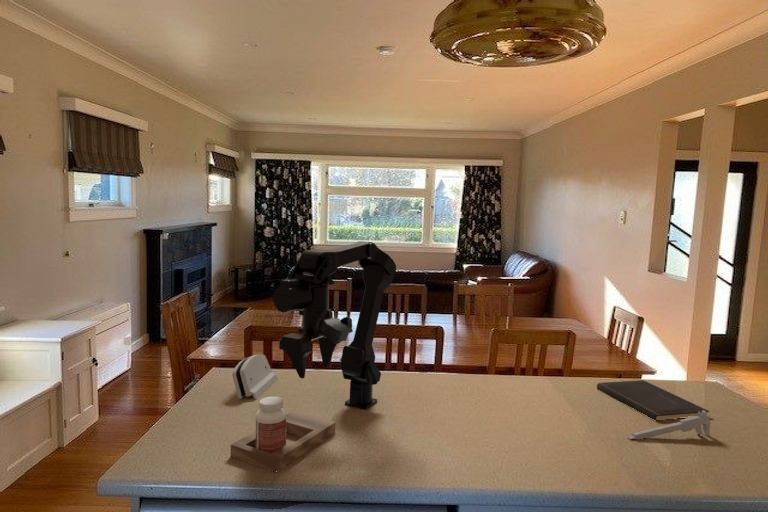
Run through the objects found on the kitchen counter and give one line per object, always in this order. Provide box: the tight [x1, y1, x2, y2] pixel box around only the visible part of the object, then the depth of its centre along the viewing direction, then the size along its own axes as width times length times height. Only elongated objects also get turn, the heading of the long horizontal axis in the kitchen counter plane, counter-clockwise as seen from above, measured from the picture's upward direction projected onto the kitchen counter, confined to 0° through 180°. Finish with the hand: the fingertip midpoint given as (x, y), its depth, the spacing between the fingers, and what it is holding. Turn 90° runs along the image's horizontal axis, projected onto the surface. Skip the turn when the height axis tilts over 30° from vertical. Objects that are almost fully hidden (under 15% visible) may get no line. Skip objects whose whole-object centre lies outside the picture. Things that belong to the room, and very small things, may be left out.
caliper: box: [627, 410, 711, 440], centre depth 114 cm, size 20×1×6 cm, turn 99°
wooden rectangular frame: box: [230, 410, 336, 473], centre depth 106 cm, size 20×12×2 cm, turn 151°
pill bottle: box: [255, 396, 287, 454], centre depth 101 cm, size 6×6×11 cm
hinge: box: [231, 354, 279, 400], centre depth 138 cm, size 17×5×10 cm, turn 172°
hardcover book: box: [596, 379, 710, 421], centre depth 136 cm, size 16×23×2 cm
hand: (314, 372), depth 114 cm, fingers open, 9 cm apart
